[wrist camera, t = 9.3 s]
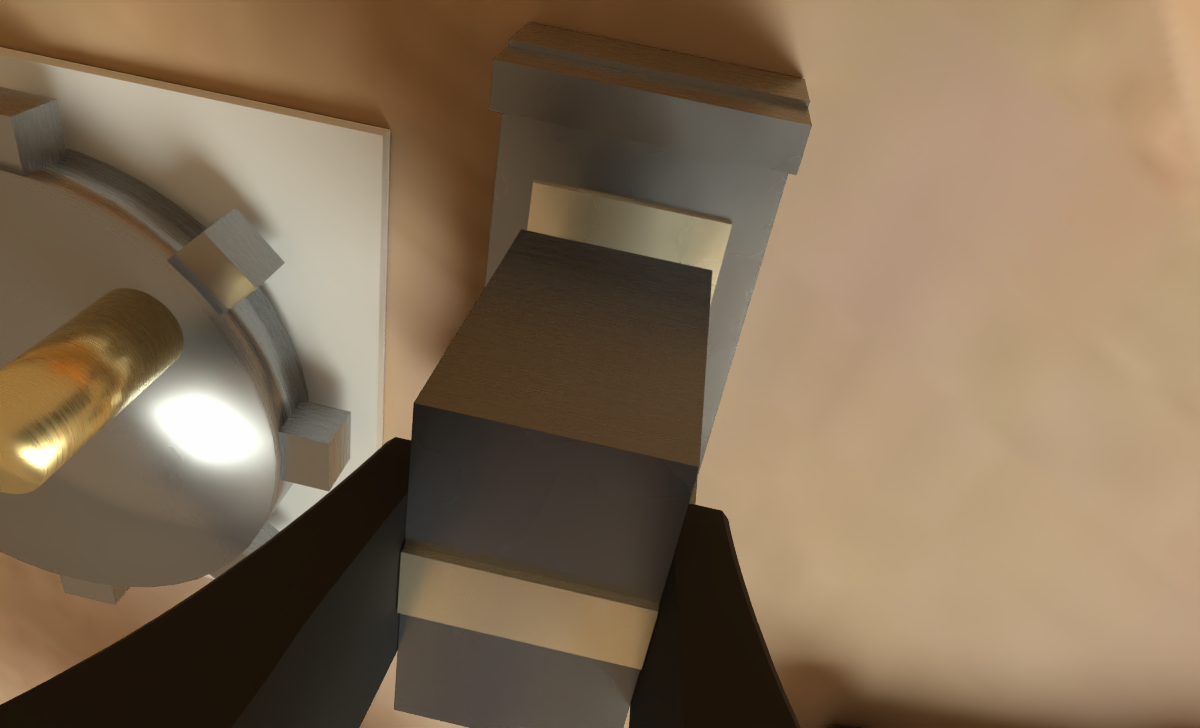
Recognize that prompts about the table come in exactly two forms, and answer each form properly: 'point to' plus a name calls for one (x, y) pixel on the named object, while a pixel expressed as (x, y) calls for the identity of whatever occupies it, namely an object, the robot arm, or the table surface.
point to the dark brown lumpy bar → (840, 726)
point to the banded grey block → (550, 487)
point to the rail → (647, 163)
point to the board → (258, 212)
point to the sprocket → (139, 375)
